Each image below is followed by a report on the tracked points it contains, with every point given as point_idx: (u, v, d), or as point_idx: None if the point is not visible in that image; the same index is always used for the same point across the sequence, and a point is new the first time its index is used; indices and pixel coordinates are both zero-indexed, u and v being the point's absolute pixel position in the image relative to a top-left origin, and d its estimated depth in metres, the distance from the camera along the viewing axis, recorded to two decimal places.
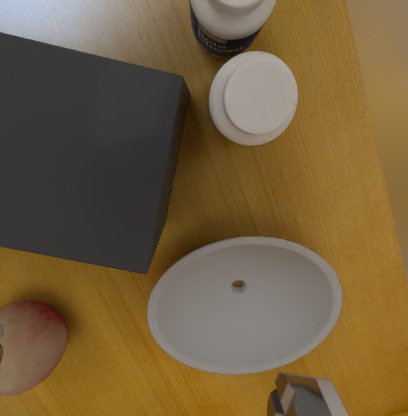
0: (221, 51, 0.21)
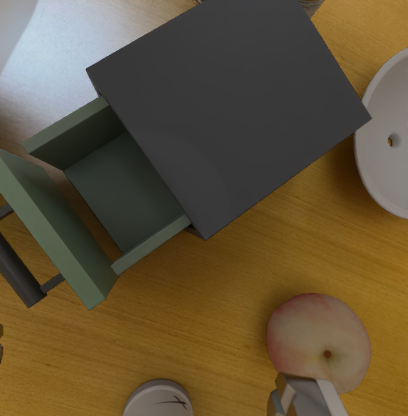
0: None
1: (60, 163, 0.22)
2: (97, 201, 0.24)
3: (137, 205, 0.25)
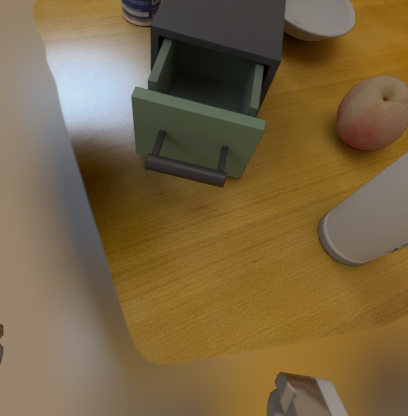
0: None
1: None
2: None
3: None
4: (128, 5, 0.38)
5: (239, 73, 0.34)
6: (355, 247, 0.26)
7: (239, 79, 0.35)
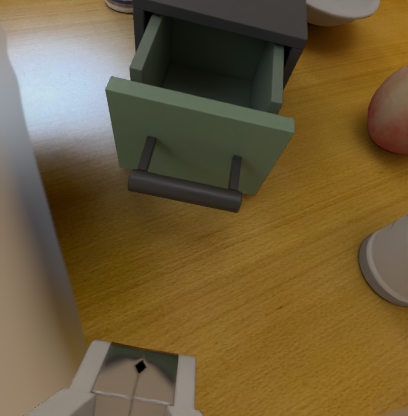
0: None
1: None
2: None
3: None
4: None
5: (248, 63, 0.27)
6: None
7: (247, 71, 0.28)
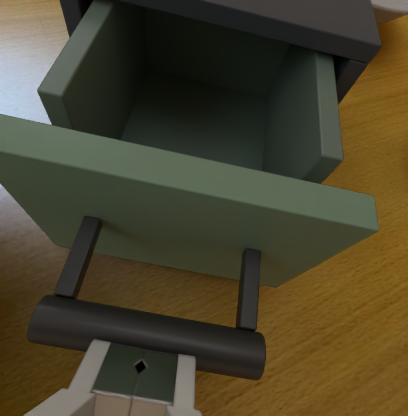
0: None
1: None
2: None
3: None
4: None
5: (262, 72, 0.18)
6: None
7: (261, 83, 0.19)
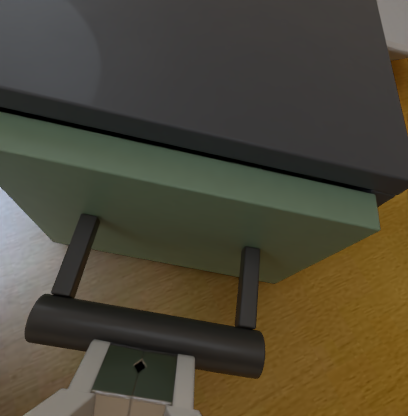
0: None
1: None
2: None
3: None
4: None
5: None
6: None
7: None
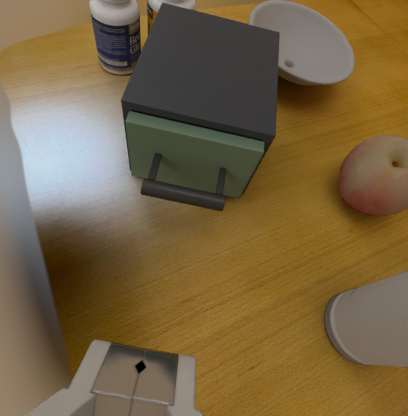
0: (140, 45, 0.36)
1: None
2: None
3: None
4: (104, 54, 0.35)
5: None
6: (370, 356, 0.22)
7: None
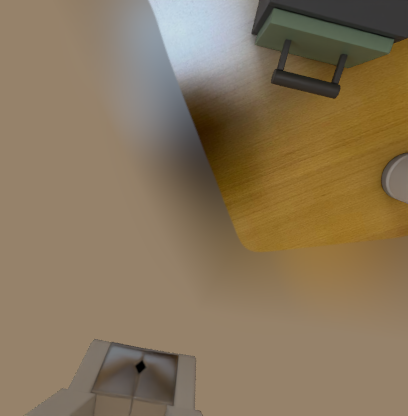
0: None
1: None
2: None
3: None
4: None
5: None
6: (403, 200, 0.35)
7: None
